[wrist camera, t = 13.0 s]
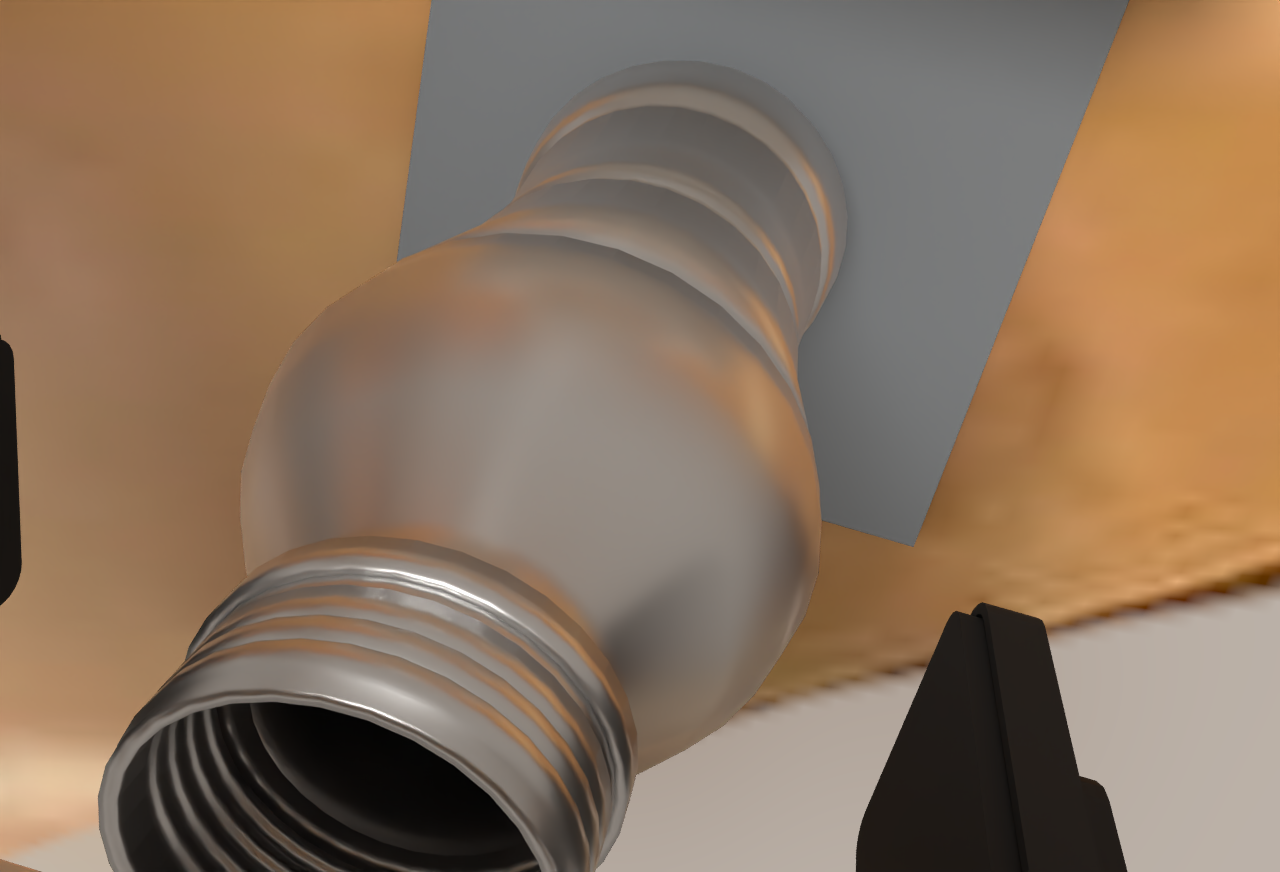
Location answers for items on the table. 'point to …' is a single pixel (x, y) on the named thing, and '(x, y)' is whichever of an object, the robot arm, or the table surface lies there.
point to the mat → (864, 157)
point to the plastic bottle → (515, 513)
